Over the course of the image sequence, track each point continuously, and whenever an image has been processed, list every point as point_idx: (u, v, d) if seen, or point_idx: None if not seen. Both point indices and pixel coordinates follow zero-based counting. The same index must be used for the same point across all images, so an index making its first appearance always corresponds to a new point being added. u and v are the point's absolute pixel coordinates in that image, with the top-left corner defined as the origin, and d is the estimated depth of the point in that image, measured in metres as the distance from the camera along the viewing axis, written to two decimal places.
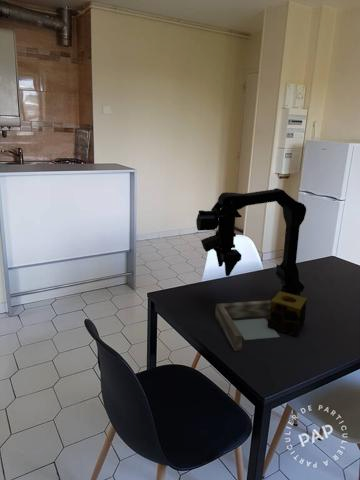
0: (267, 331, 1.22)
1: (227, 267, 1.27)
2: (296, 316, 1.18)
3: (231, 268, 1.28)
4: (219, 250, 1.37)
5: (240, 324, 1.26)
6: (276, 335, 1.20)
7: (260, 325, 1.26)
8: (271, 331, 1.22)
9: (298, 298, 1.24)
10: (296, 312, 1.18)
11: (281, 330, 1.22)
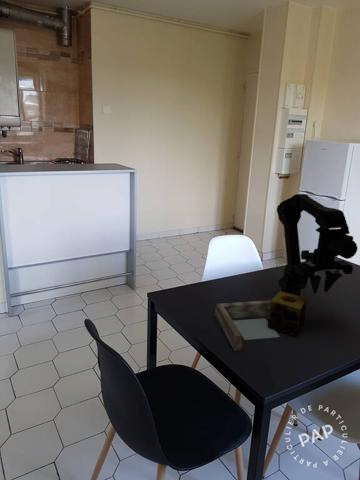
0: (267, 331, 1.22)
1: (311, 282, 1.23)
2: (296, 316, 1.18)
3: (314, 285, 1.22)
4: (328, 274, 1.24)
5: (240, 324, 1.26)
6: (276, 335, 1.20)
7: (260, 325, 1.26)
8: (271, 331, 1.22)
9: (298, 298, 1.24)
10: (296, 312, 1.18)
11: (281, 330, 1.22)
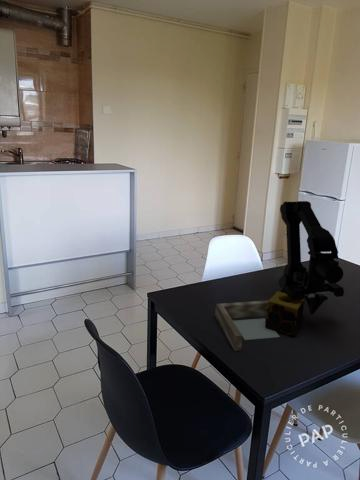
0: (267, 331, 1.22)
1: (308, 303, 1.26)
2: (293, 316, 1.18)
3: (310, 306, 1.24)
4: None
5: (240, 324, 1.26)
6: (276, 335, 1.20)
7: (260, 325, 1.26)
8: (271, 331, 1.22)
9: None
10: (293, 312, 1.18)
11: (279, 330, 1.22)
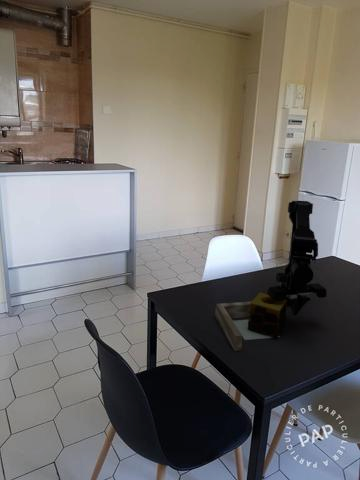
0: None
1: (291, 304, 1.24)
2: (276, 318, 1.17)
3: (293, 307, 1.23)
4: (297, 297, 1.24)
5: (240, 324, 1.26)
6: None
7: None
8: None
9: None
10: (275, 314, 1.16)
11: (261, 332, 1.20)
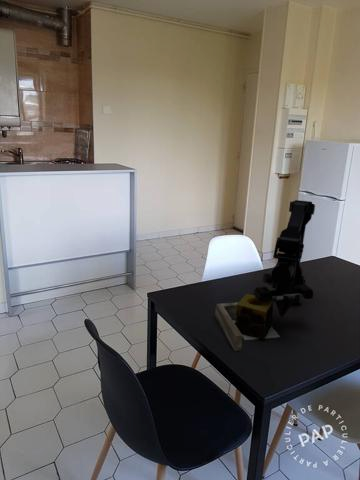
0: None
1: (277, 305, 1.24)
2: (262, 319, 1.16)
3: (279, 308, 1.22)
4: (283, 298, 1.23)
5: None
6: (276, 335, 1.20)
7: None
8: (271, 331, 1.22)
9: None
10: (262, 315, 1.15)
11: (248, 334, 1.19)
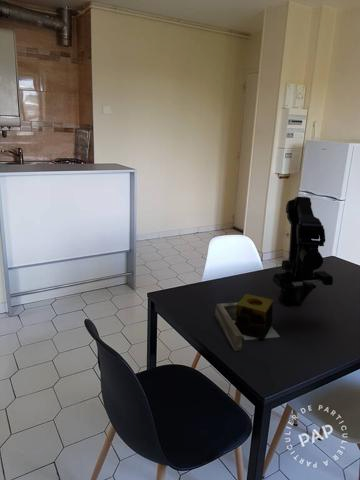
0: None
1: (296, 292, 1.23)
2: (262, 319, 1.16)
3: (298, 295, 1.22)
4: (303, 285, 1.23)
5: None
6: (276, 335, 1.20)
7: None
8: (271, 331, 1.22)
9: (264, 301, 1.21)
10: (262, 315, 1.15)
11: (248, 334, 1.19)
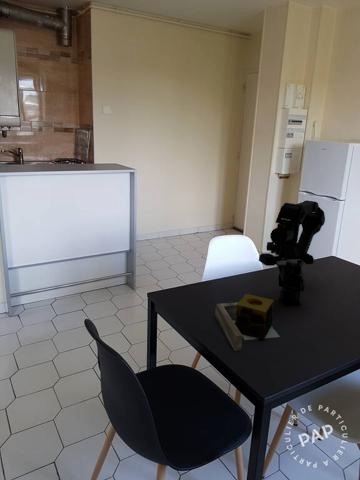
0: None
1: (280, 271, 1.32)
2: (262, 319, 1.16)
3: (282, 273, 1.31)
4: (286, 264, 1.32)
5: None
6: (276, 335, 1.20)
7: None
8: (271, 331, 1.22)
9: (264, 301, 1.21)
10: (262, 315, 1.15)
11: (248, 334, 1.19)
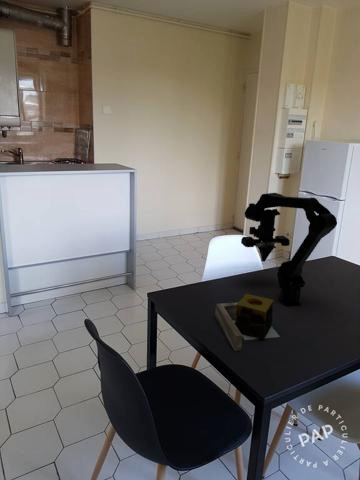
0: None
1: (260, 252, 1.51)
2: (262, 319, 1.16)
3: (261, 254, 1.50)
4: (265, 246, 1.51)
5: None
6: (276, 335, 1.20)
7: None
8: (271, 331, 1.22)
9: (264, 301, 1.21)
10: (262, 315, 1.15)
11: (248, 334, 1.19)
